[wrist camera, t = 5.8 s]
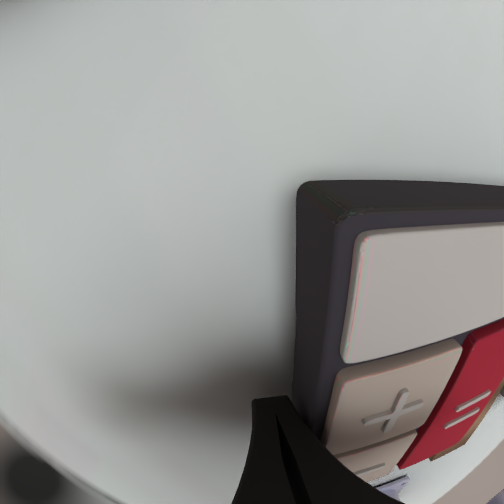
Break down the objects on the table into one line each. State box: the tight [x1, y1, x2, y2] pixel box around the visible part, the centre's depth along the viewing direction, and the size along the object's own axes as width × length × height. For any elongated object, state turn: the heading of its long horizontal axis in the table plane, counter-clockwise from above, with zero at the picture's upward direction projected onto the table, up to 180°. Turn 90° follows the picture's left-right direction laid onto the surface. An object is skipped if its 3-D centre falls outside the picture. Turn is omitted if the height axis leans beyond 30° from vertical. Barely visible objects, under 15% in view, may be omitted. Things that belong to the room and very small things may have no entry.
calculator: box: [291, 180, 504, 482], centre depth 11 cm, size 11×4×15 cm
